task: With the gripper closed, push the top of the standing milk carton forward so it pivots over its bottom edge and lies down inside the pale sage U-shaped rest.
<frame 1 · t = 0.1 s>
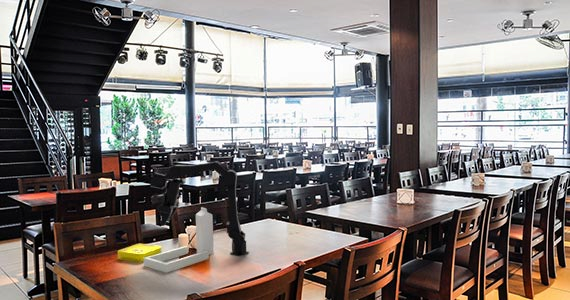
hand: (165, 223, 207), 15 cm above the table, tool pointing down, fingers open, 9 cm apart
element tile: (140, 257, 207), on the table
u rest: (178, 261, 198), on the table
milk: (205, 253, 210), on the table
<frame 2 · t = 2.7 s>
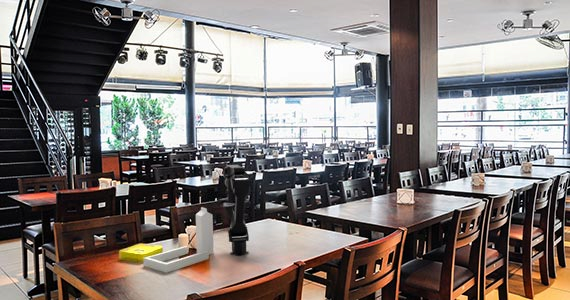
hand: (233, 220, 223), 13 cm above the table, tool pointing down, fingers open, 4 cm apart
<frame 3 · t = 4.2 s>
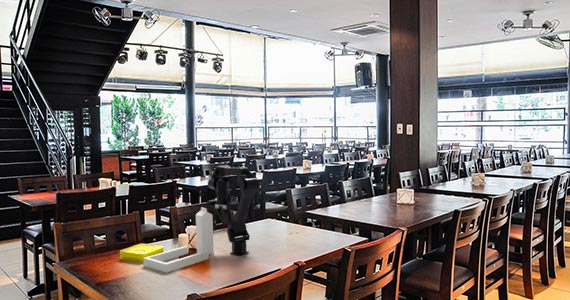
hand: (223, 221, 220), 13 cm above the table, tool pointing down, fingers closed
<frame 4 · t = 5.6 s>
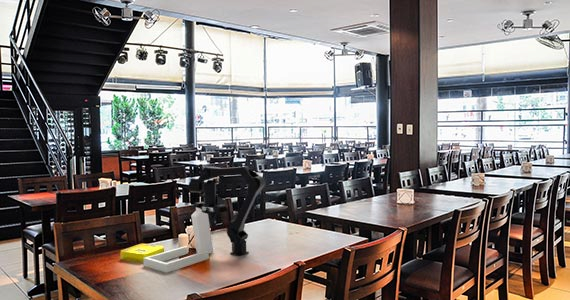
hand: (210, 224, 213), 13 cm above the table, tool pointing down, fingers closed
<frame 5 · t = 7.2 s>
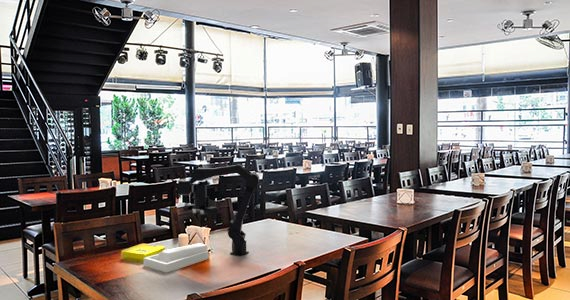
hand: (201, 227, 208), 13 cm above the table, tool pointing down, fingers closed
milk: (204, 250, 205), point 3 cm above the table
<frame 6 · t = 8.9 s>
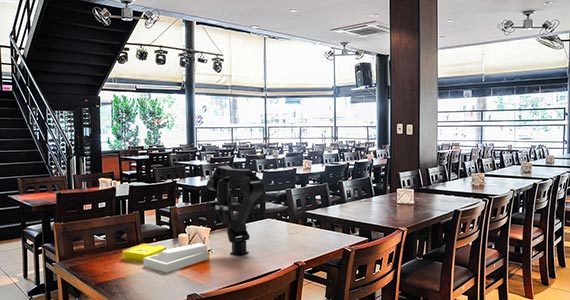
hand: (224, 223, 217), 13 cm above the table, tool pointing down, fingers closed
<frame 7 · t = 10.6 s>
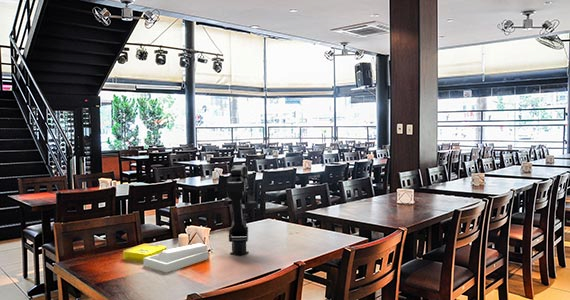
hand: (241, 220, 221), 13 cm above the table, tool pointing down, fingers closed
at the end: milk tilted 90°; milk inside the target area (3.9 cm from its centre), point 3.0 cm above the table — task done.
